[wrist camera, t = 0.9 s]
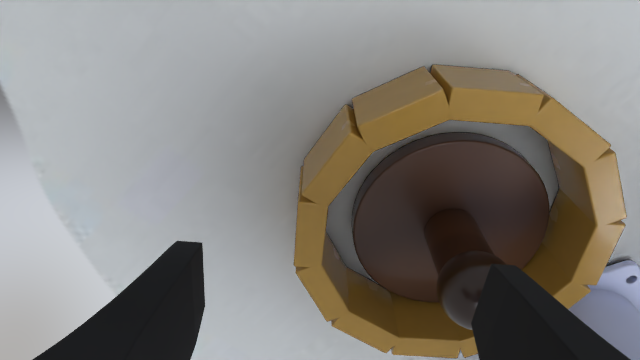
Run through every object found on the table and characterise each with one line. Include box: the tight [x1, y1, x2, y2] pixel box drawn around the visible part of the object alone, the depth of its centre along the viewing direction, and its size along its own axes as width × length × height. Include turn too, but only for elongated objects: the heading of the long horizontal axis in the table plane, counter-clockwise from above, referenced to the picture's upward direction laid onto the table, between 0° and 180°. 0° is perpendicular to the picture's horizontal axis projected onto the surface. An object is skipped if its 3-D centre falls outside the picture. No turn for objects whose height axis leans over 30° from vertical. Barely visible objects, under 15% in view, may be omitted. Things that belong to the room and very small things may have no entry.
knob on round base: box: [352, 133, 549, 330], centre depth 19 cm, size 9×9×6 cm
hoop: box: [294, 65, 627, 358], centre depth 20 cm, size 13×13×3 cm
